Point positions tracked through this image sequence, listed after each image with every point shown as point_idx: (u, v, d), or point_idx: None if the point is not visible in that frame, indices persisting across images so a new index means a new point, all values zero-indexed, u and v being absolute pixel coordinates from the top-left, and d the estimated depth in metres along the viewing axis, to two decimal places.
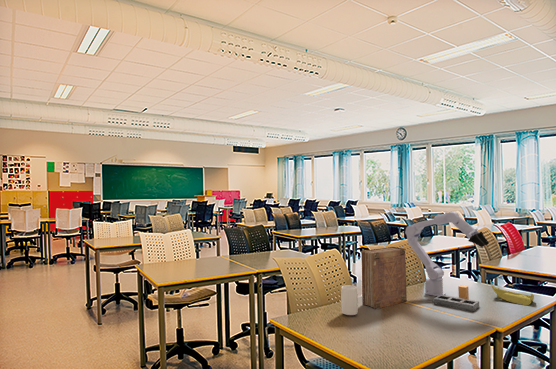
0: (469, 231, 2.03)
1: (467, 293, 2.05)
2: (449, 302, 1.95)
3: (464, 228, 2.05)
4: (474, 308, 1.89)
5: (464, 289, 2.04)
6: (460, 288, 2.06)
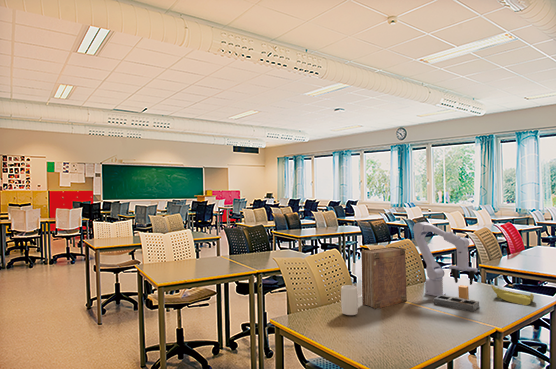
0: (457, 264, 2.08)
1: (467, 293, 2.05)
2: (449, 302, 1.95)
3: None
4: (474, 308, 1.89)
5: (464, 289, 2.04)
6: (460, 288, 2.06)
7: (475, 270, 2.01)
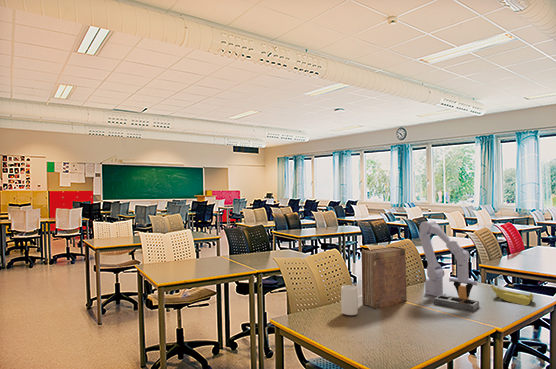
0: (457, 277, 2.08)
1: None
2: (449, 302, 1.95)
3: None
4: (474, 308, 1.89)
5: (464, 289, 2.04)
6: (460, 288, 2.06)
7: (475, 283, 2.01)
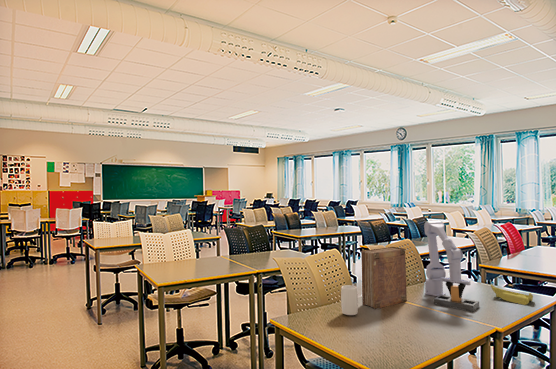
0: None
1: None
2: (449, 302, 1.95)
3: None
4: (474, 308, 1.89)
5: (457, 289, 1.96)
6: (452, 288, 1.97)
7: (468, 283, 1.93)
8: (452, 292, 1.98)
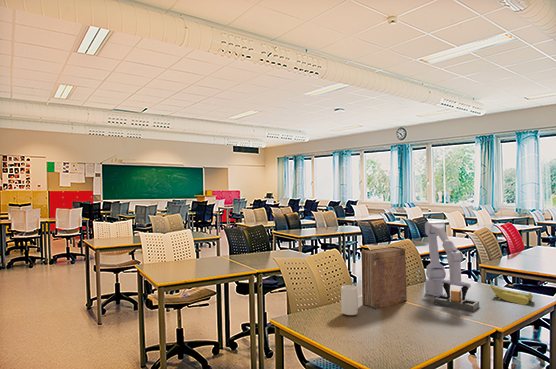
0: None
1: (460, 298, 1.97)
2: (449, 302, 1.95)
3: None
4: (474, 308, 1.89)
5: (457, 293, 1.96)
6: (452, 292, 1.97)
7: (468, 285, 1.93)
8: (452, 296, 1.97)
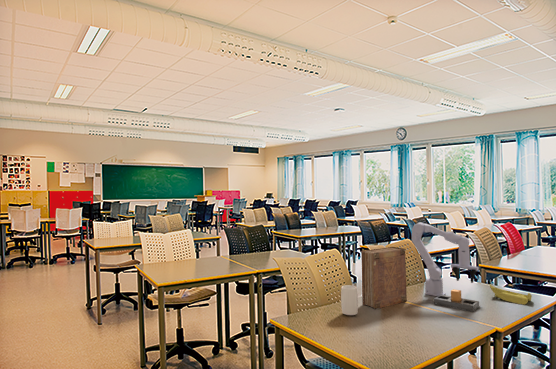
0: None
1: (460, 298, 1.97)
2: (449, 302, 1.95)
3: None
4: (474, 308, 1.89)
5: (457, 293, 1.96)
6: (452, 292, 1.97)
7: (476, 268, 2.06)
8: (452, 296, 1.98)
